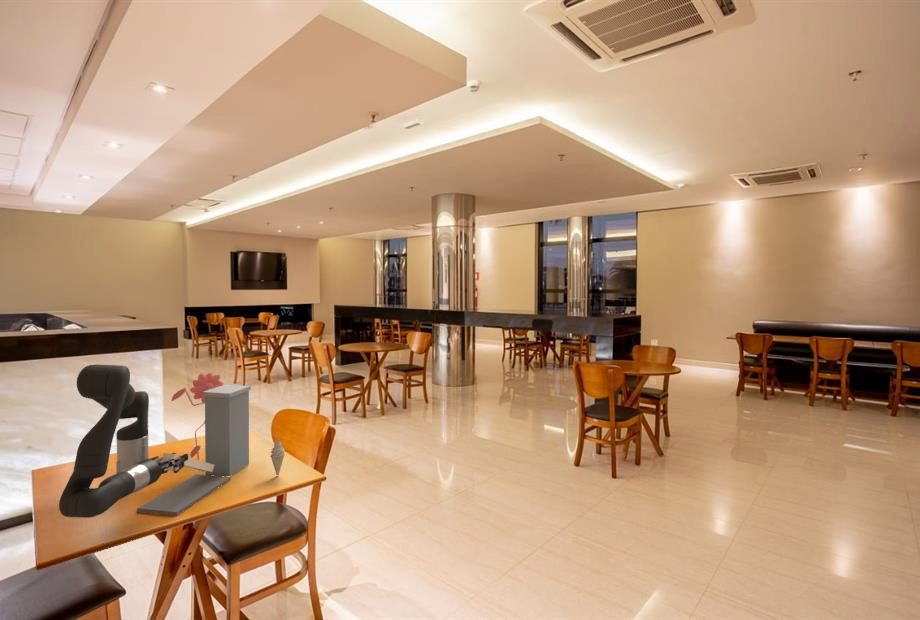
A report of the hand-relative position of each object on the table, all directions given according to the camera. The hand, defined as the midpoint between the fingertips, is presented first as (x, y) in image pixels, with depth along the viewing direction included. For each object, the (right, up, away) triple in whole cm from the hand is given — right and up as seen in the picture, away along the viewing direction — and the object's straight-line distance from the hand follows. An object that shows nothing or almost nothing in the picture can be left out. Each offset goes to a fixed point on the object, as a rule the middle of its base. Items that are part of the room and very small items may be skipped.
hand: (180, 456), depth 150 cm
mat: (0, -15, +4) cm, 15 cm away
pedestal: (+3, -13, +25) cm, 28 cm away
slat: (0, -5, +3) cm, 6 cm away
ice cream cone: (+24, -14, +20) cm, 35 cm away
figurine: (-14, -12, +40) cm, 44 cm away
